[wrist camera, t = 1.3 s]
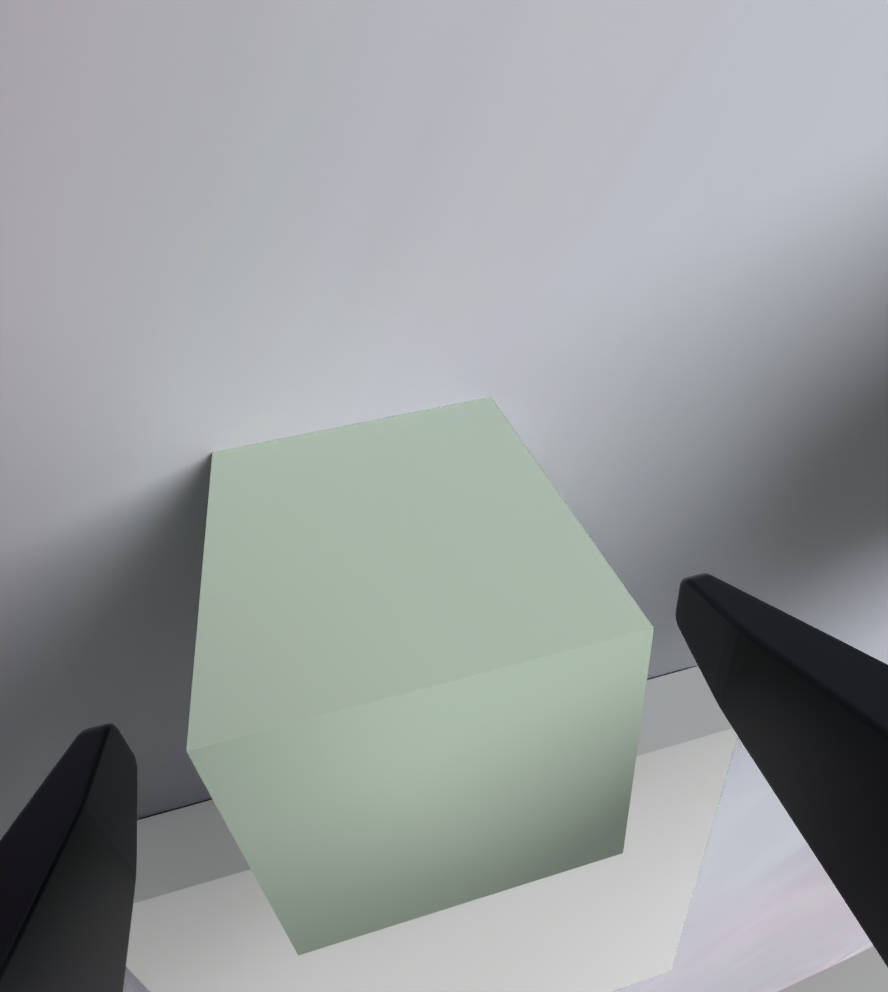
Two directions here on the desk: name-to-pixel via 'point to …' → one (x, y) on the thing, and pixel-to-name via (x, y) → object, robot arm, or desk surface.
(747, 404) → the desk surface
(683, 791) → the base plate
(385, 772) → the sage block
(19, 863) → the robot arm
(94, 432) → the desk surface
